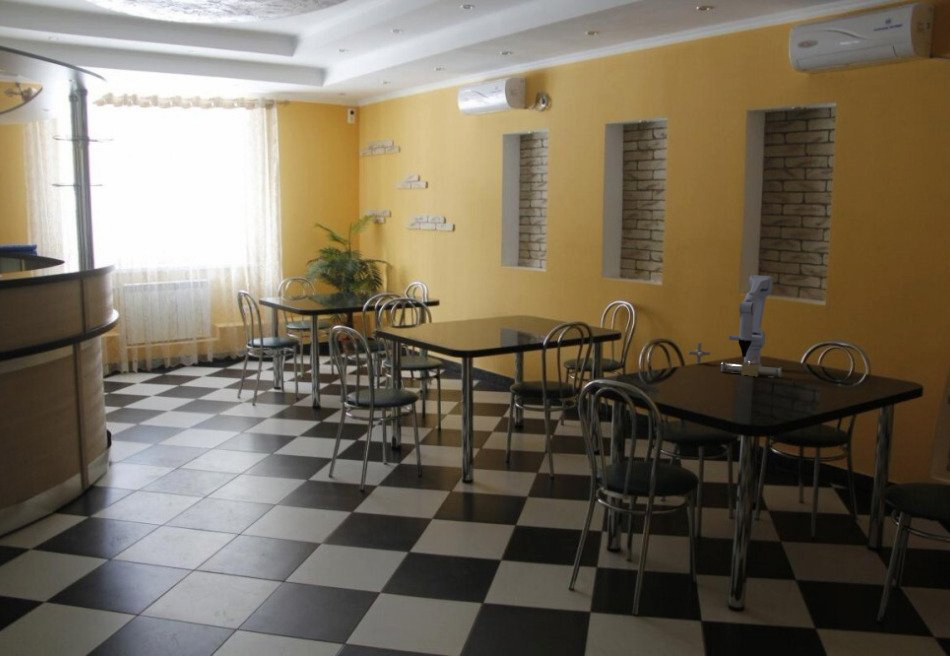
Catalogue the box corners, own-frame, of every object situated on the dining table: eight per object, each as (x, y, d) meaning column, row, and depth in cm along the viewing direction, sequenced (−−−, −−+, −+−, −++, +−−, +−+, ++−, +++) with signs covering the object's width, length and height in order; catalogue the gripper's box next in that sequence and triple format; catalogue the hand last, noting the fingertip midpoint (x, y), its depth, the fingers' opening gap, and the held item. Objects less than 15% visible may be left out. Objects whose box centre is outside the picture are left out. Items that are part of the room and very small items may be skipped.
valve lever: (753, 364, 385) (754, 361, 385) (747, 364, 387) (747, 361, 387) (758, 360, 398) (758, 357, 397) (752, 359, 399) (752, 356, 399)
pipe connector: (711, 365, 409) (712, 344, 408) (690, 364, 409) (691, 344, 408) (706, 361, 419) (707, 341, 418) (685, 361, 419) (686, 341, 418)
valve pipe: (722, 370, 397) (723, 360, 396) (781, 376, 385) (782, 365, 384) (719, 372, 391) (720, 362, 390) (779, 379, 379) (780, 368, 379)
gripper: (728, 327, 392) (726, 356, 394) (761, 329, 386) (759, 359, 388) (731, 325, 398) (729, 354, 400) (763, 328, 392) (761, 357, 394)
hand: (744, 356), depth 394 cm, fingers closed
